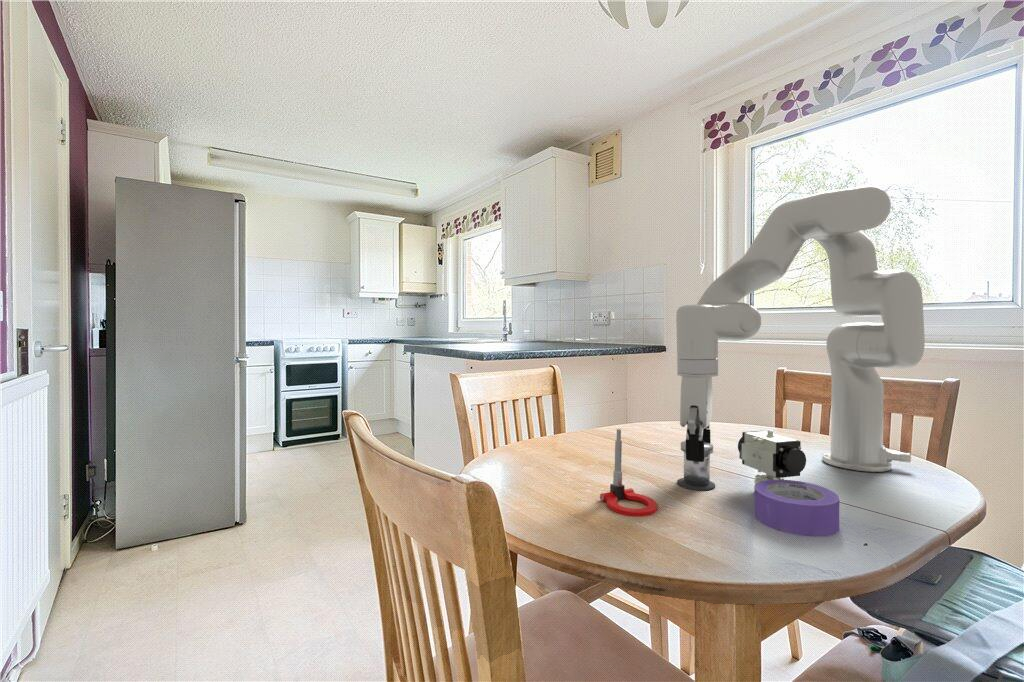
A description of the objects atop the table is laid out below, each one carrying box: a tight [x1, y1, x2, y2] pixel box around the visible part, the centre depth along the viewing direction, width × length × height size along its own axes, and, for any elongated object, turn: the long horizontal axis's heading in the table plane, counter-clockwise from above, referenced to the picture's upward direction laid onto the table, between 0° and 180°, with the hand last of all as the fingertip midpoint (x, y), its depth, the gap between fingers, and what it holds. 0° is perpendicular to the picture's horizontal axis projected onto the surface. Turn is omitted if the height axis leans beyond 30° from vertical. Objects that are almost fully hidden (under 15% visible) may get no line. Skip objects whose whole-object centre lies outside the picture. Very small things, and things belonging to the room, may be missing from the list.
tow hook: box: [599, 428, 658, 517], centre depth 83 cm, size 8×13×9 cm
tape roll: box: [753, 479, 840, 538], centre depth 77 cm, size 12×12×5 cm
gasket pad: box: [676, 477, 716, 492], centre depth 95 cm, size 7×7×1 cm
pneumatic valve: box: [737, 429, 807, 485], centre depth 88 cm, size 6×12×12 cm, turn 15°
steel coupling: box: [680, 440, 714, 487], centre depth 95 cm, size 6×6×8 cm
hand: (698, 454), depth 95 cm, fingers open, 9 cm apart
